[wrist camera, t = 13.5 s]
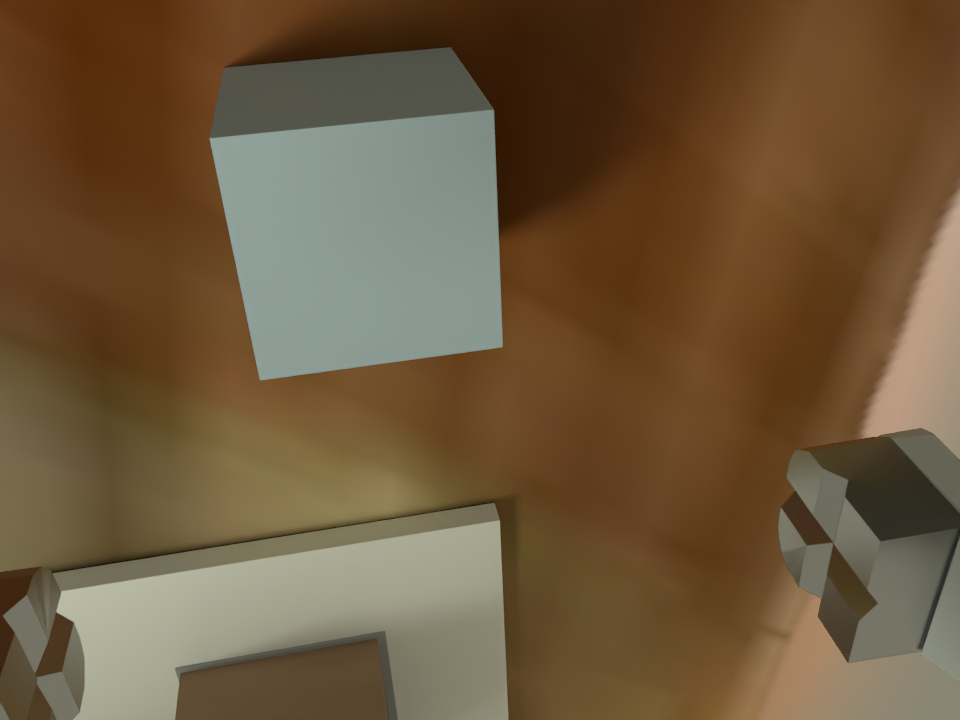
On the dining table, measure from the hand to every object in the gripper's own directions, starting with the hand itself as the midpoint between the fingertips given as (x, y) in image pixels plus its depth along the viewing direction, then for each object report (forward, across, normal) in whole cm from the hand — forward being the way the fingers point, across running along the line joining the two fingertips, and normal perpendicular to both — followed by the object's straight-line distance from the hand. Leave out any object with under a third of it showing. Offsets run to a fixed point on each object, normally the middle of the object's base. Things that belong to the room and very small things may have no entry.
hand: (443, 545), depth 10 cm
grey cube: (+14, 0, 0) cm, 14 cm away
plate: (+13, -4, -18) cm, 23 cm away
